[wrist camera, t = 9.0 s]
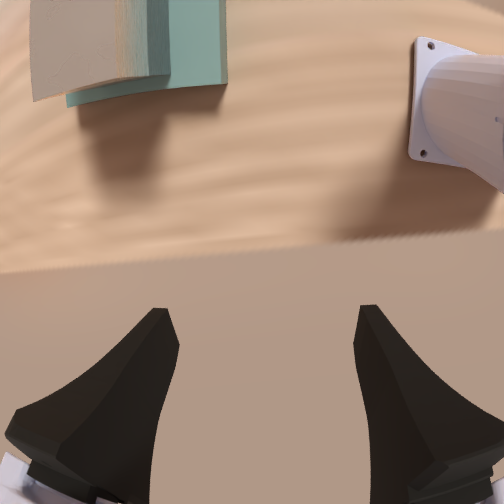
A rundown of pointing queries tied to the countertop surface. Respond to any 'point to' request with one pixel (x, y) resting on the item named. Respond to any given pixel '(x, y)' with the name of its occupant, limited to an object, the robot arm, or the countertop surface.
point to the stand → (180, 53)
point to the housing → (96, 44)
